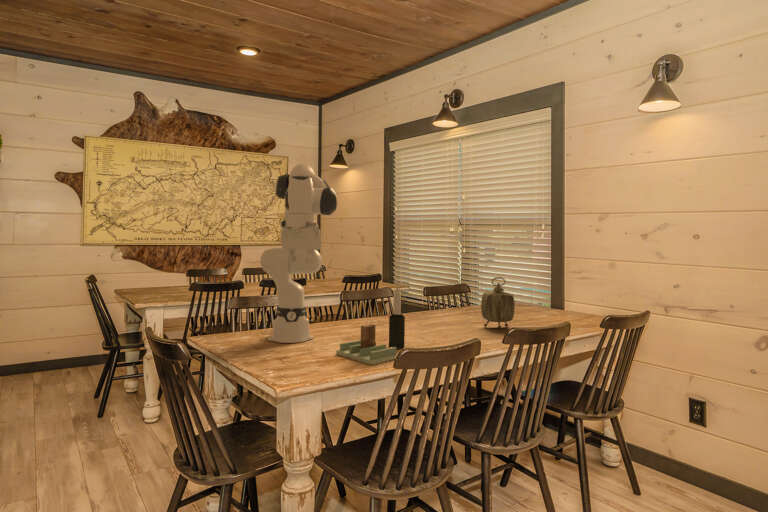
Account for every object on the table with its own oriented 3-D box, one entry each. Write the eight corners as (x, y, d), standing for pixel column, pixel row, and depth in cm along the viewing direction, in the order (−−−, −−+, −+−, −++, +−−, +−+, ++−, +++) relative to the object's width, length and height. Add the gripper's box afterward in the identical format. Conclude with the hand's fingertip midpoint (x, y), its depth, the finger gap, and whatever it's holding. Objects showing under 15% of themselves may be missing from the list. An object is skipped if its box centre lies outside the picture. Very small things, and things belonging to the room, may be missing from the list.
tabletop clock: (508, 326, 243) (509, 276, 242) (515, 329, 234) (516, 278, 233) (480, 326, 241) (481, 276, 240) (486, 330, 232) (487, 278, 231)
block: (364, 353, 177) (365, 326, 176) (360, 352, 179) (360, 325, 178) (375, 351, 180) (375, 325, 180) (370, 350, 182) (371, 324, 182)
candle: (396, 345, 198) (397, 284, 197) (405, 347, 194) (406, 285, 193) (387, 347, 194) (388, 285, 193) (396, 349, 191) (397, 286, 190)
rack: (371, 365, 167) (371, 353, 167) (336, 354, 182) (336, 343, 182) (400, 358, 177) (400, 347, 177) (364, 348, 192) (364, 338, 191)
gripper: (326, 222, 162) (325, 263, 162) (293, 223, 177) (292, 260, 177) (310, 221, 157) (310, 264, 158) (277, 222, 172) (277, 261, 173)
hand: (300, 262), depth 168 cm, fingers open, 8 cm apart
